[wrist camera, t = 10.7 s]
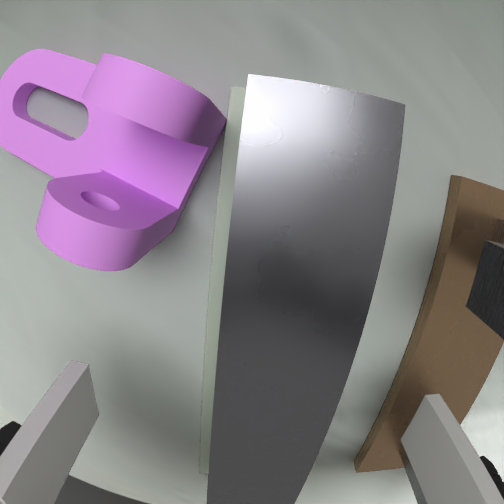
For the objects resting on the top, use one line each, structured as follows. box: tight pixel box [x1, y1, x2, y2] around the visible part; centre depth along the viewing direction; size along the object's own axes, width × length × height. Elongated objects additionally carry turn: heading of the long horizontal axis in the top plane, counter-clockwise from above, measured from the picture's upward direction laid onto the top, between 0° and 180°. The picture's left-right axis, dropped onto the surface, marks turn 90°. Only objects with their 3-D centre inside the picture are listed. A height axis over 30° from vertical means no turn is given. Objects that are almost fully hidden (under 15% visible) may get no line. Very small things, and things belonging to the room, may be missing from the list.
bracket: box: [0, 49, 227, 271], centre depth 10 cm, size 13×6×7 cm, turn 62°
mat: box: [199, 87, 246, 474], centre depth 16 cm, size 6×24×1 cm, turn 173°
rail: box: [207, 74, 405, 504], centre depth 13 cm, size 4×22×6 cm, turn 173°
